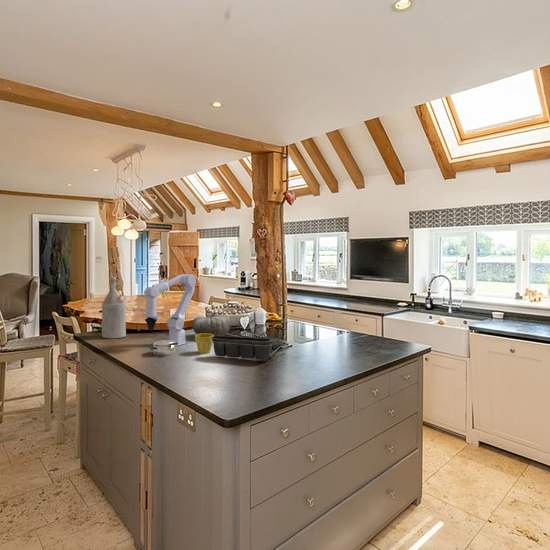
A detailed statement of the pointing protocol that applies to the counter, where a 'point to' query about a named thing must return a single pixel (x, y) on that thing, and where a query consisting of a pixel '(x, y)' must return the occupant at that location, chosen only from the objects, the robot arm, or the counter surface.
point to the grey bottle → (113, 313)
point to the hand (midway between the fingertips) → (151, 330)
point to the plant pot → (204, 343)
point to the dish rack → (246, 345)
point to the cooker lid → (164, 342)
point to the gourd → (211, 325)
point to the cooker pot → (163, 350)
